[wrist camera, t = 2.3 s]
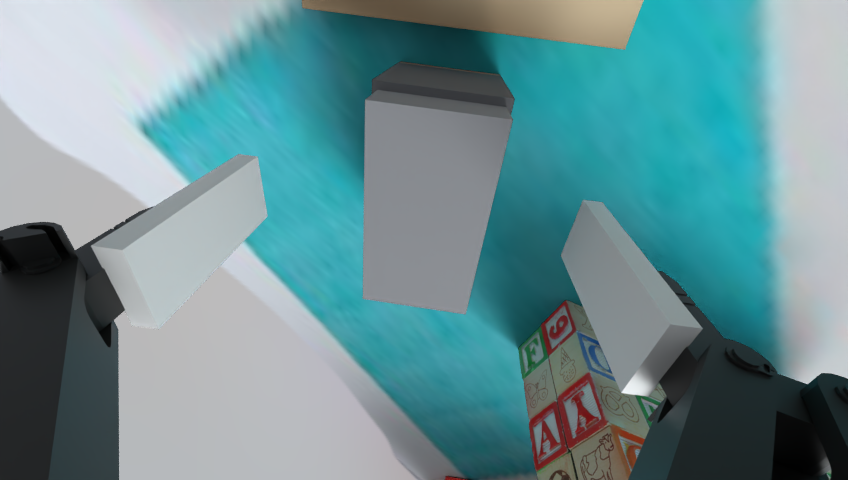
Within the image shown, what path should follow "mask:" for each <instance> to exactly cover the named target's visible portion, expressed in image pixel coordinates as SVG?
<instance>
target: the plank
mask: <svg viewBox="0 0 848 480" xmlns="http://www.w3.org/2000/svg"><path fill="white" fill-rule="evenodd" d="M642 3H643V0H302V7H303V8H306V9H313V10H321V11H329V12H337V13H344V14H352V15H360V16H368V17H376V18H383V19H391V20H399V21H407V22H414V23H422V24H430V25H438V26H445V27H453V28H461V29H469V30H477V31H484V32H492V33H500V34H508V35H515V36H523V37H531V38H539V39H547V40H554V41H562V42H570V43H578V44H585V45H593V46H601V47H609V48H616V49H624V50H625V48H626V45H627V42H628V40H629V37H630V34H631V32H632V29H633V27H634V24H635V21H636V19H637V16H638V13H639V11H640V8H641V5H642Z"/></svg>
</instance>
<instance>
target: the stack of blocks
mask: <svg viewBox="0 0 848 480" xmlns="http://www.w3.org/2000/svg"><path fill="white" fill-rule="evenodd" d="M518 350H519V358H520V366H521V373H522V379H523V381H524V389H525V397H526V404H527V411H528V417H529V430H530V438H531V442H532V452H533V455H534V457H533V459H534V466H535V470H536V472H537V477H538V480H628V479H629V476H630V474H631V471H632V469H633V467H634V464H635V462H636V460H637V457H638V455H639V452H640V450H641V448H642V445H643V443H644V441H645V438H646V436H647V433H648V431H649V429H650V426H651V424H652V422H653V421H652V422H650V421H649V420H647V419H648V417H649V416H650V415H651V414H652V413H653V411H654V410H655V409H656V408H657V407H658V406H659V404H660V403H661V402H662V401H663V400H664V398H665V397H666V394H665V392H664V390H663V389H662V387H661V385H660V383H659V384H658V385H657V387H656V388H655V389H654V390H653V392H652V393H651V394H650V395H649V397H647V396H640V395H632V394H625V393H621V392H620V389H619V387H618V385H617V382H616V380H615V378H614V376H613V373H612V371H611V369H610V367H609V364H608V362H607V360H606V357H605V355H604V353H603V351H602V348H601V346H600V344H599V342H598V339H597V337H596V335H595V332H594V330H593V328H592V326H591V323H590V321H589V319H588V317H587V314H586V312H585V310H584V307H581V306H579V305H577V304H575V303H573V302H571V301H568V300H565V301H564V302H563V303H562V304H561V305H560V306H559V307H558V308H557V309H556V310H555V311H554V312H553V313H552V314H551V315H550V316H549V317H548V318H547V319H546V320H545V321H544V322H543V323H542V324H541V326H540V327H539V328H538V329H537V330H536V331H535V332H534V333H533V334H532V335H531V336H530V337H529V338H528V339H527V340H526V341H525V342H524V343H523V344H522V345H521V346H520V347H519V348H518ZM827 475H828V478H829V480H830V478H831V470H830V471H829V472H827Z"/></svg>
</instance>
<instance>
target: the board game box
mask: <svg viewBox="0 0 848 480" xmlns="http://www.w3.org/2000/svg"><path fill="white" fill-rule="evenodd" d="M445 480H467V479H460V478H454V477H448V476H446V478H445Z"/></svg>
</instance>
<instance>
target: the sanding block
mask: <svg viewBox="0 0 848 480" xmlns="http://www.w3.org/2000/svg"><path fill="white" fill-rule="evenodd" d="M514 100H515V98H514V97H513V95H512V94H511V92H510V90H509V89H508V87H507V86H506V84H505V82H504V81H503V79H502V77H501V76H500V75H499V74H491V73H484V72H476V71H469V70H461V69H454V68H446V67H438V66H431V65H423V64H416V63H408V62H398V63H397V64H395V65H394V66H392V67H391V68H389V69H388V70H386V71H385V72H383V73H382V74H380V75H379V76H377V77H376V78H374V79H373V80H372V95H370V96H369V97H368V98H367V99H365V152H364V245H363V299H367V300H374V301H380V302H387V303H394V304H400V305H407V306H414V307H420V308H427V309H434V310H440V311H447V312H453V313H460V314H466V310H467V306H468V302H469V298H470V294H471V290H472V286H473V282H474V278H475V273H476V269H477V265H478V261H479V257H480V253H481V249H482V245H483V241H484V236H485V232H486V228H487V224H488V220H489V216H490V212H491V208H492V203H493V199H494V195H495V191H496V187H497V183H498V179H499V175H500V171H501V166H502V162H503V158H504V154H505V150H506V146H507V142H508V138H509V134H510V129H511V125H512V121H513V119H512V117H511V112H512V108H513V104H514Z"/></svg>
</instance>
